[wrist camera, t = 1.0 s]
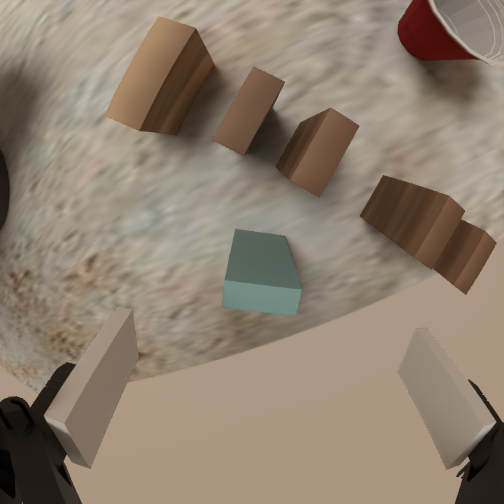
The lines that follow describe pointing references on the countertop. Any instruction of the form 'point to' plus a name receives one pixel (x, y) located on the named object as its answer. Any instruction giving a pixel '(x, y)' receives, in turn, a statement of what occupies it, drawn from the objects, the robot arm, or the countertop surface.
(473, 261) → the domino
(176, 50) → the block
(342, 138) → the domino
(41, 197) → the countertop surface
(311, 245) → the countertop surface
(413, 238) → the domino
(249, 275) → the domino
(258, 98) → the domino
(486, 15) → the plastic cup
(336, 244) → the countertop surface
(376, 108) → the countertop surface
